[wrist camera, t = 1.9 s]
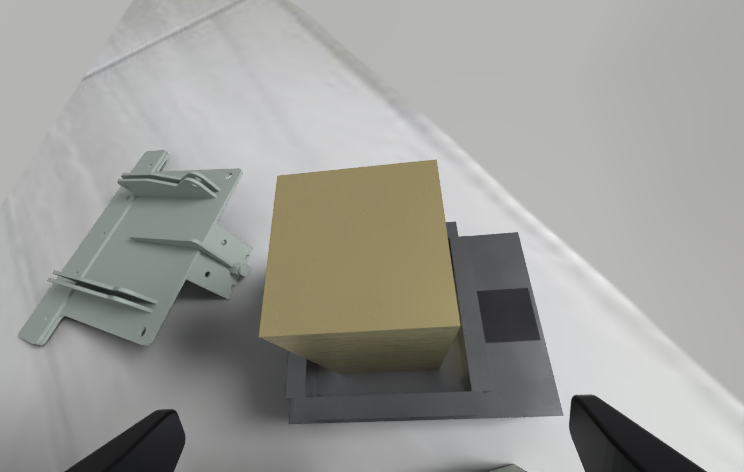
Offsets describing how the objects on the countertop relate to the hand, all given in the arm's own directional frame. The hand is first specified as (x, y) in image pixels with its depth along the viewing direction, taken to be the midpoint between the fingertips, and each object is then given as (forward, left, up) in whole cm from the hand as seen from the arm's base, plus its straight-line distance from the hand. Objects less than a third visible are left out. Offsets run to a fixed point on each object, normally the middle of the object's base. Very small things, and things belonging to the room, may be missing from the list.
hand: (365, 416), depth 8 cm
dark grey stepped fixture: (+4, -2, -11) cm, 12 cm away
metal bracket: (+14, +13, -12) cm, 22 cm away
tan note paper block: (+4, -1, -8) cm, 9 cm away
